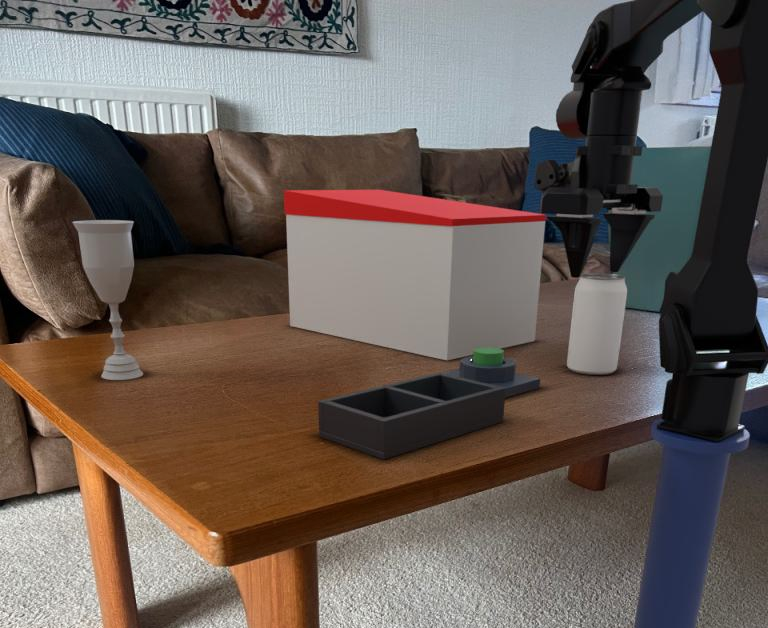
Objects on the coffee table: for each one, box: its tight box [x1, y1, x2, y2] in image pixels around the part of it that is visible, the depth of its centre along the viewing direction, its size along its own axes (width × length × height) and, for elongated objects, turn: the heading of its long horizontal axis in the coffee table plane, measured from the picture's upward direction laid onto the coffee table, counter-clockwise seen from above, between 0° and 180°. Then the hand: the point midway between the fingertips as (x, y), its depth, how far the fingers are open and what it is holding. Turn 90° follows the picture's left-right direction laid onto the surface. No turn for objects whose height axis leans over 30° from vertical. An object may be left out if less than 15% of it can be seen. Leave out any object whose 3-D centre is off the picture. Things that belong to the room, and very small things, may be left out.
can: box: [566, 272, 627, 376], centre depth 101 cm, size 6×6×12 cm
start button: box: [472, 347, 505, 366], centre depth 93 cm, size 4×4×2 cm
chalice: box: [72, 219, 144, 381], centre depth 94 cm, size 7×7×18 cm
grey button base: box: [441, 355, 541, 399], centre depth 94 cm, size 10×8×3 cm
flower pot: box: [607, 145, 711, 313], centre depth 146 cm, size 20×20×28 cm
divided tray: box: [317, 372, 506, 460], centre depth 78 cm, size 9×17×4 cm, turn 134°
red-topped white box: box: [283, 189, 547, 361], centre depth 121 cm, size 21×35×21 cm, turn 45°
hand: (595, 274), depth 98 cm, fingers open, 9 cm apart
